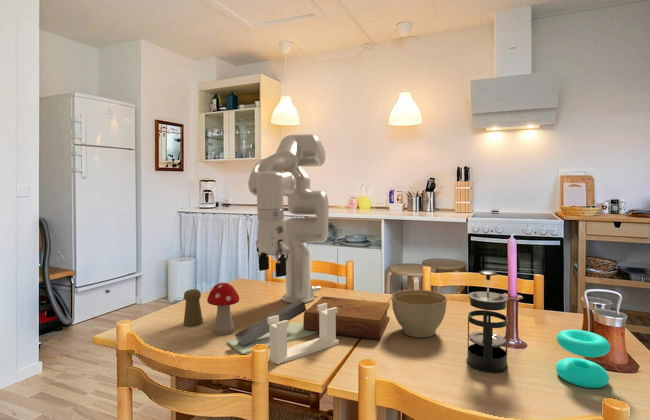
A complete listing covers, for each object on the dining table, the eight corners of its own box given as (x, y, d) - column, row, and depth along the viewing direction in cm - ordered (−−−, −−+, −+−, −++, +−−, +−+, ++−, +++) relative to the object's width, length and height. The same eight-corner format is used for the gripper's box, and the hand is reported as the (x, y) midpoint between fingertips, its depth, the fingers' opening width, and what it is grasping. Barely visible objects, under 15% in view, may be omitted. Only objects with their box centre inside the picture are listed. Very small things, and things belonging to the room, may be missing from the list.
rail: (300, 308, 121) (298, 299, 120) (306, 310, 118) (304, 301, 118) (238, 343, 108) (235, 334, 107) (242, 347, 106) (239, 337, 105)
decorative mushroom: (201, 334, 117) (200, 285, 116) (219, 324, 125) (218, 278, 124) (229, 338, 113) (228, 288, 112) (246, 328, 121) (244, 281, 120)
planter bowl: (447, 325, 121) (447, 291, 121) (445, 346, 106) (446, 307, 105) (395, 320, 127) (395, 287, 126) (387, 339, 111) (387, 301, 111)
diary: (303, 331, 117) (303, 312, 116) (323, 312, 134) (322, 296, 134) (379, 340, 110) (379, 320, 109) (389, 319, 127) (389, 302, 127)
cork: (197, 327, 123) (195, 293, 122) (179, 326, 124) (178, 292, 123) (206, 320, 129) (205, 288, 128) (190, 319, 130) (188, 287, 129)
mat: (297, 323, 125) (297, 321, 125) (316, 332, 117) (316, 330, 117) (227, 343, 110) (227, 341, 110) (243, 355, 102) (243, 353, 102)
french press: (466, 352, 102) (467, 265, 101) (506, 357, 99) (507, 268, 97) (465, 372, 91) (467, 276, 90) (510, 379, 88) (512, 279, 86)
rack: (327, 338, 113) (326, 302, 112) (339, 344, 108) (338, 307, 108) (266, 357, 100) (265, 318, 100) (277, 365, 96) (276, 323, 95)
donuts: (618, 347, 81) (564, 342, 84) (616, 393, 82) (562, 387, 84) (600, 329, 90) (551, 325, 93) (598, 371, 91) (550, 366, 94)
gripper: (298, 216, 108) (299, 276, 109) (267, 212, 121) (268, 265, 123) (274, 218, 103) (276, 281, 105) (245, 213, 117) (247, 269, 118)
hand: (272, 272), depth 114 cm, fingers open, 9 cm apart
